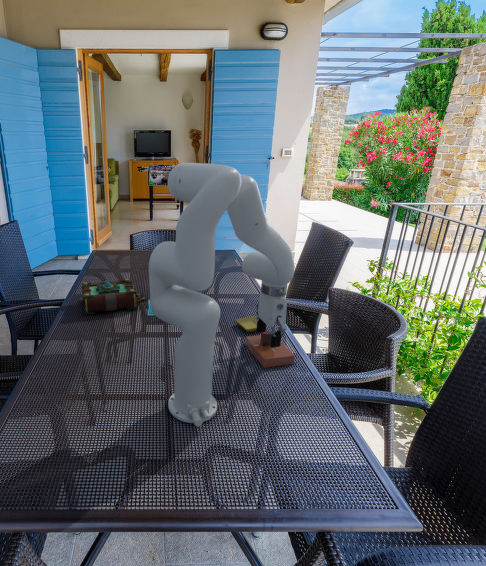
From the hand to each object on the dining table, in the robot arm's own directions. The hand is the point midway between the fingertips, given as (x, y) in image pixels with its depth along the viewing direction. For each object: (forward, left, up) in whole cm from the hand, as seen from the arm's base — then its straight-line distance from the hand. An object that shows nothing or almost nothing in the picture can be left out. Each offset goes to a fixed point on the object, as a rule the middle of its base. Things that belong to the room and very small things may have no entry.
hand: (267, 339), depth 120 cm
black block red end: (0, 0, -2) cm, 2 cm away
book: (+50, +44, -5) cm, 67 cm away
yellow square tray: (+17, -2, -5) cm, 18 cm away
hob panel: (-1, 0, -5) cm, 5 cm away
